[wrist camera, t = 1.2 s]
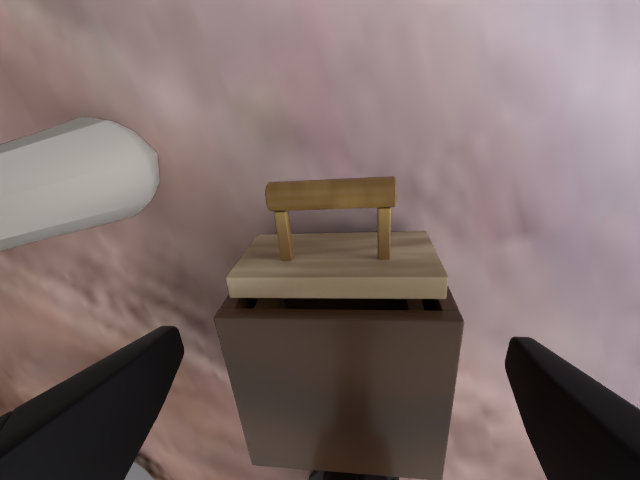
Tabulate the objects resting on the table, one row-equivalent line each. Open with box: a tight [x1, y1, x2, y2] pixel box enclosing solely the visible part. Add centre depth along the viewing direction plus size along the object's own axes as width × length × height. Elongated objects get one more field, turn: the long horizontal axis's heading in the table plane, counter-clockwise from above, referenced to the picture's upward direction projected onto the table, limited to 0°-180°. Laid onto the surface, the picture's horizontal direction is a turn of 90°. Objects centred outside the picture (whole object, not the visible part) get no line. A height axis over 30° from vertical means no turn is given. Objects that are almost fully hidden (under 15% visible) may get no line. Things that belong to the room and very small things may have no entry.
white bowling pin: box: [0, 117, 160, 250], centre depth 14 cm, size 6×6×13 cm
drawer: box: [226, 176, 448, 311], centre depth 18 cm, size 15×10×5 cm
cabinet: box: [214, 286, 464, 480], centre depth 20 cm, size 12×12×7 cm
